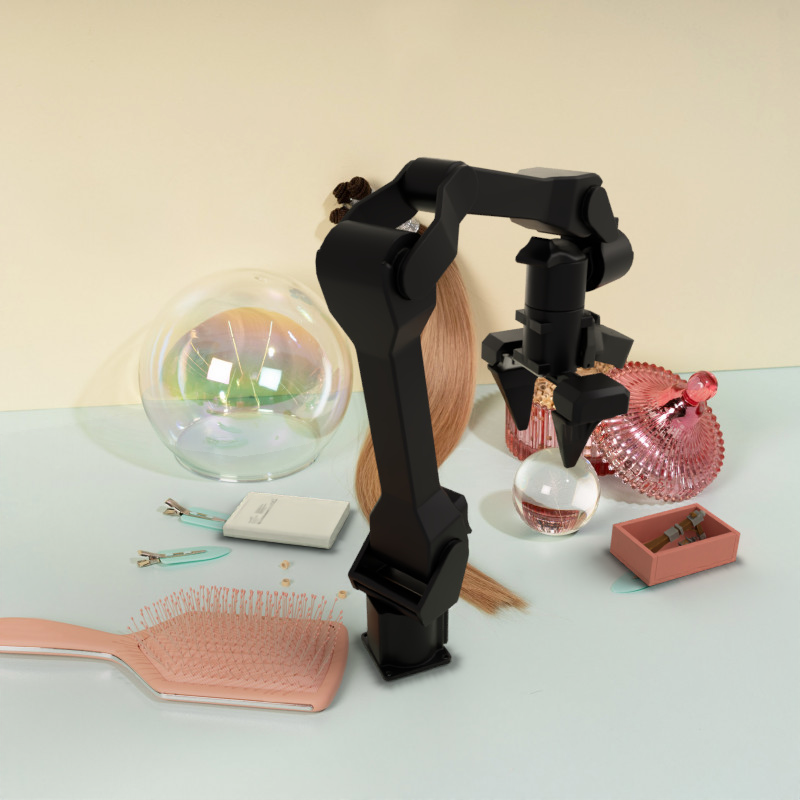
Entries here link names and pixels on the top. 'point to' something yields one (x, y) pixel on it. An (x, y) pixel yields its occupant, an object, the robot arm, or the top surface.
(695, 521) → the wooden post with brackets
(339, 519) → the hard drive
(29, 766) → the top surface
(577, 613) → the top surface
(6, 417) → the top surface
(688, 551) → the tray
